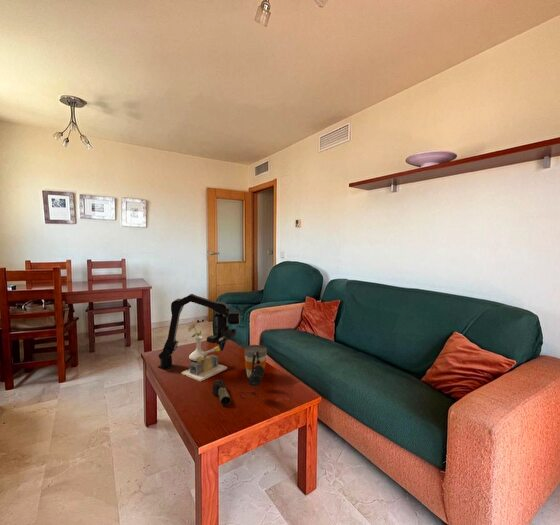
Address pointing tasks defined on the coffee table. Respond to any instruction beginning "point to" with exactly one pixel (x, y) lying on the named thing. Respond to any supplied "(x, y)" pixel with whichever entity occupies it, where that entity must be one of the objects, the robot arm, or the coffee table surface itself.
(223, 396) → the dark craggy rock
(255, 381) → the headphones
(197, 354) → the white rounded piece
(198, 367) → the blocks
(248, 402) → the coffee table surface
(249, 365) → the reusable coffee cup
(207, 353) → the valve lever
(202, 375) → the mounting board
